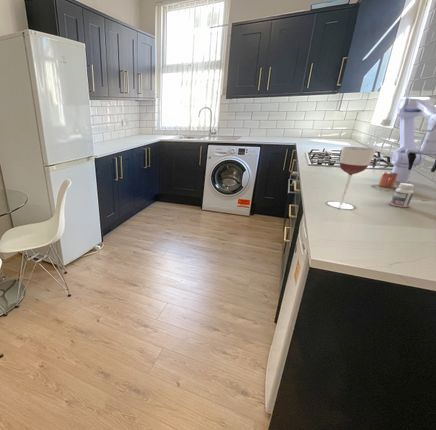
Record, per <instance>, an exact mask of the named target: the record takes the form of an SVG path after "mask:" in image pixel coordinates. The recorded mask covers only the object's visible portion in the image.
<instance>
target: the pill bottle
mask: <svg viewBox="0 0 436 430" xmlns="http://www.w3.org/2000/svg"><path fill="white" fill-rule="evenodd" d="M414 187H415V185H414V184H412V183H409V182H408V183H399V186H398V187H397V188H396V189H395V190H394V192H393V195H392V198H391V201H390V205H391V206H395V207H399V208H408V207H409V205H410V204H411V203H410V202H411V200H412V198H413V195H414V190H413V189H414Z"/></svg>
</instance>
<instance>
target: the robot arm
mask: <svg viewBox="0 0 436 430" xmlns="http://www.w3.org/2000/svg"><path fill="white" fill-rule="evenodd" d="M421 115H422V116H423V117H424V118H425V119H426V120H427V127H426V130H427V131H426V134H425V136H424V138H423V142H422V144H421V147H420V148H418V147H417V146H415V144H416V143H415V141H416V140H415V119H416V118H417V117H420V116H421ZM397 116H398V118H399V148H397V149H395V150H394V151H393V152H392V157H391V161H390V162H391V163H392V165H393V167H392V170H391V172H393V173H397V174H398V177H397V179H396V182H395V183H399V184H400V183H408V184H409V181H410V178H411V176H412V173H413V170H414V168H417V167H418V166H419V165H421V164H422V162H423V159H424V157H423V156H435V157H436V104H434V105H433V104H432V102H431V98H430V97H429V96H404V97H402V98H401V99H400V100H399V101H398V104H397ZM435 171H436V159H435V160H434V163H433V165H432V168H431V169H430V172H431V173H435Z"/></svg>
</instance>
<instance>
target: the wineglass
mask: <svg viewBox="0 0 436 430" xmlns="http://www.w3.org/2000/svg"><path fill="white" fill-rule="evenodd" d="M376 150H377V149H375V148H371V147H361V146H342V148H341V153H340V157H339V167H340V169H341V170H342V171H343V172H345V173H346V174H347V175H348V176H347V179H346V183H345V184H344V185H345V186H344V188H343V191H342V194H341V198H340V201H329V202H327V205H329V206H330V207H333V208H335V209H336V208H337V209H342V210H353V209H355V208H354V206H353V205H351V204H349V203H345V202H344V201H345V197H346V194H347V191H348V188H349V185H350V181H351V179H352V176H353V175H356V174H360V173H362V172H364V171H365V170H366V169H367V168H368V167H369V165H370V163H371V162H372V159H373V158H374V156H375V153H376V152H377V151H376Z"/></svg>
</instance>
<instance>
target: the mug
mask: <svg viewBox="0 0 436 430" xmlns="http://www.w3.org/2000/svg"><path fill="white" fill-rule="evenodd" d="M397 177H398V174H397V173H393V172H392V171H382V173H381V176H380V179H379V181H378V184H377V186H378V187H381V188H387V189H393V188H394V187H395V184H396V183H397V182H396V179H397Z"/></svg>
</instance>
